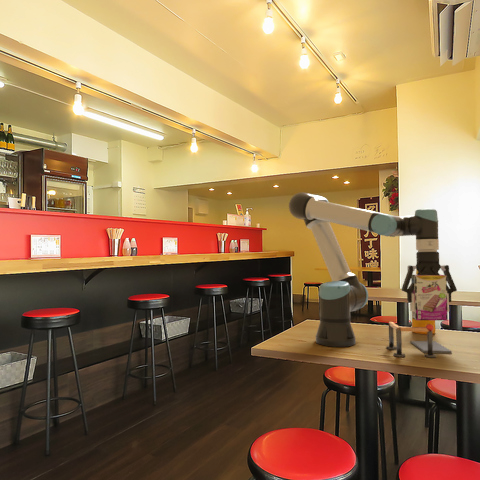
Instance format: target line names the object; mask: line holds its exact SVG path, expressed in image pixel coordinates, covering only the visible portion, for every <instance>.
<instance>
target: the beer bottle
mask: <svg viewBox="0 0 480 480" xmlns="http://www.w3.org/2000/svg"><path fill="white" fill-rule="evenodd" d="M415 271H416V272H415V275H417V273H418V271H417V269H415ZM427 324H431V325H433V327H434V329H433V330H432V335H434V334H435V333H436V328H437V327H436V320H415V319H413V318H412V317H411V327H426V325H427ZM412 332H413V333H415V334H418V335H427V332H420V331H412Z"/></svg>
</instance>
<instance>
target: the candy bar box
mask: <svg viewBox="0 0 480 480" xmlns="http://www.w3.org/2000/svg"><path fill="white" fill-rule="evenodd" d="M410 282H411V283H414V290H413V292H412V293H414V303H415V312H412V311H411V319H412V318H413V319H415V320H435V321H448V319H449V318H448V312H447V286H448V282H447V276H446V275H444V274H440V275H416V274H412V277H411V280H410ZM411 283H410V284H411Z"/></svg>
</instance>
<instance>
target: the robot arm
mask: <svg viewBox="0 0 480 480" xmlns="http://www.w3.org/2000/svg"><path fill="white" fill-rule="evenodd" d="M288 209H289V212H290V214H291V215H292V216H293V217H294V218H296V219H298V220H303V221H304V225H305V227H306V229H308V230H310V231H311V232H312V234H313V237H314V239H315V242H316V244H317V247H318V250H319V252H320V254H321V256H322V258H323V261H324V264H325V266H326V268H327V269H326V270H327V271H328V273H329V276H330V278H331V281H326V282H323V283H321V284H320V285H319V291H318V297H319V324H318V328H317V331H316V334H315V342H316V344H318V345H320V346H325V347H331V348H332V347H333V348H335V347H336V348H337V347H338V348H344V347H351V346H355V345H356V344H357V342H356V339H357V338H356V335H355V331H354V330H353V327H352V323H351V312H356V311H359V310H360V309H362V308H364V307H365V306H366V304H367V303H368V300H369V291H368V288H367V287H366V286H365V284H363V283H361V282H360V281H359V277H358V276H357V274H355V273H353V272H352V271H351V269H350V267H349V264H348V262H347V260H346V257H345V255H344V253H343V251H342V247H341V245H340V244H339V243H340V242H338V239H337V236H336V234H335V232H334V229H333V227H332V225H331V223H332V224H337V225H341V226H346V227H349V228H354V229H359V230H362V231H366V232H370V233H374V234H377V235H379V236H384V237H391V238H392V237H393V238H395V237H405V236H406V237H407V236H408V237H410V236H415V249H416V252H415V253H416V254H415V255H416V256H415V257H416V263H415V265H410V264H409V265H407V272H406V275H405V278H404V281H403V284H402V286H401V291H402V292H405V293H406V298H407V299H406V300H407V302H408V303H409V308H410V309H409V311H410V312H411V313H412V312H415V303H414V293H412V292H413V290H414V283H410V282H411V277H412V275H414V272H415V271H416V269H417V271H418V273H417V275H441V274H440V273H439V271H440V270H441V271H442V272H443V275H446V276H447V313H449V312H450V303H451V302H452V294H453V293H454V292H457V290H458V289H457V286H456V284H455V281H454V279H453V277H452V274H451V272H450V265H447V264H440V252H439V250H440V246H439V245H440V244H439V217H438V210H436V209H434V208H421V209H417V210H414V215H413V214H412V215H403V216H402V215H401V216H398V215H393V214H389V213H383V212H379V211H378V212H376V211H373V210H367V209H364V208H360V207H359V208H357V207H354V206H349V205H345V204H344V205H343V204H339V203H334V202H329V200H328V199H327V198H326V197H324V196H322V195H319V194H312V193H309V192H305V191H304V192H303V191H302V192H298V193H296V194H294V195H293V196H292V197H290V200H289V202H288Z"/></svg>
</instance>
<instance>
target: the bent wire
mask: <svg viewBox="0 0 480 480" xmlns="http://www.w3.org/2000/svg"><path fill="white" fill-rule="evenodd" d="M433 329H434V327H433V325H431V324H427V325H426V327H412V326H400V325H398V324H396V323H395V322H393V321H388V345H386V346H385V347H386V348H385V349H387V350H391V351H392V350H394V351H395V350H396V352H394V353H393V357H396V358H405V357H406V354H405V353H404V352H403V347H402V344H403V343H402V332H413V331H420V332H427V334H426V338H427V339H426V341H427V346H428V353H424V354H423V355H424V357H426V358H427V359H428V358H430V359H436V358H437V354H436V353H433V334H432V330H433ZM394 330H395V331H394ZM394 332H395V333H396V334H395V333H394ZM394 335H396V336H394ZM394 337H396V338H395V339H396V340H395V341H396V345H395V341H394Z"/></svg>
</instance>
